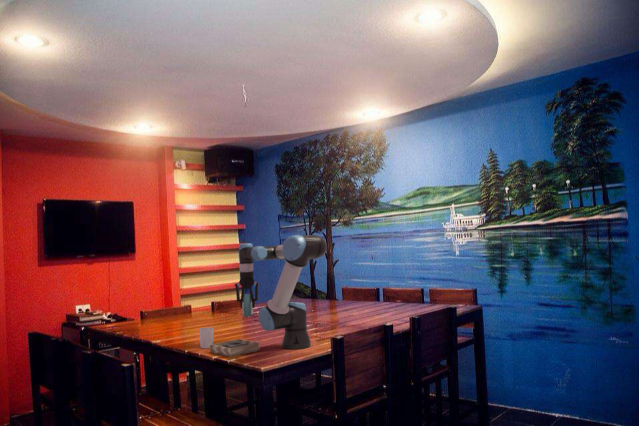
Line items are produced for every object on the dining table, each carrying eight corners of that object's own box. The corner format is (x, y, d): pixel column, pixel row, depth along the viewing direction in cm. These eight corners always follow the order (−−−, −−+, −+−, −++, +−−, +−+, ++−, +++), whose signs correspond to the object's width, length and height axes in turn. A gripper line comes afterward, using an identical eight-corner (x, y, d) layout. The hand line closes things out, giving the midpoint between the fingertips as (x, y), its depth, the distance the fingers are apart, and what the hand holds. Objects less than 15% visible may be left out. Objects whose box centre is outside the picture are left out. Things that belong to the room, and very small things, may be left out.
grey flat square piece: (259, 350, 240) (259, 342, 240) (229, 357, 227) (229, 348, 228) (239, 346, 253) (239, 338, 253) (210, 352, 240) (210, 344, 241)
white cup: (215, 345, 259) (215, 327, 259) (212, 348, 251) (212, 329, 252) (201, 346, 258) (200, 327, 259) (197, 349, 250) (197, 330, 251)
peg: (253, 315, 257) (252, 293, 258) (247, 316, 255) (246, 294, 256) (249, 315, 260) (248, 293, 261) (242, 316, 258) (242, 294, 259)
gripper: (262, 270, 263) (264, 312, 261) (232, 271, 264) (234, 313, 262) (260, 271, 255) (262, 314, 253) (229, 272, 256) (231, 315, 254)
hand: (247, 314), depth 258 cm, fingers closed on peg, 4 cm apart
